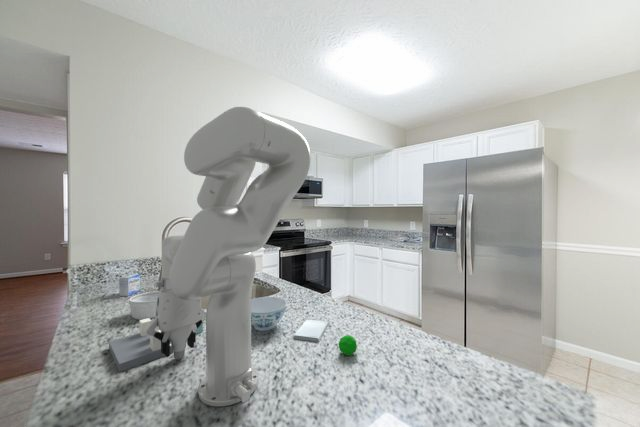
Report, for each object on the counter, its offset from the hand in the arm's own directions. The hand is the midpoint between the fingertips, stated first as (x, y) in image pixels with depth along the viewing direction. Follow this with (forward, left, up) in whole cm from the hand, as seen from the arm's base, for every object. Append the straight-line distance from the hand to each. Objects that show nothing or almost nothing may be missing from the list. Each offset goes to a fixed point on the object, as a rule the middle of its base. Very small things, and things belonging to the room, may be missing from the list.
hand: (178, 349), depth 69 cm
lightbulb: (0, 0, -3) cm, 3 cm away
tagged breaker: (+12, +2, 0) cm, 13 cm away
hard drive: (-14, -36, -3) cm, 39 cm away
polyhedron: (-31, -33, -3) cm, 45 cm away
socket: (+16, -6, -2) cm, 17 cm away
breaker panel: (+12, +6, -2) cm, 14 cm away
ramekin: (+41, -3, -3) cm, 41 cm away
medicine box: (+77, -3, -3) cm, 77 cm away
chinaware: (0, -27, -3) cm, 27 cm away
